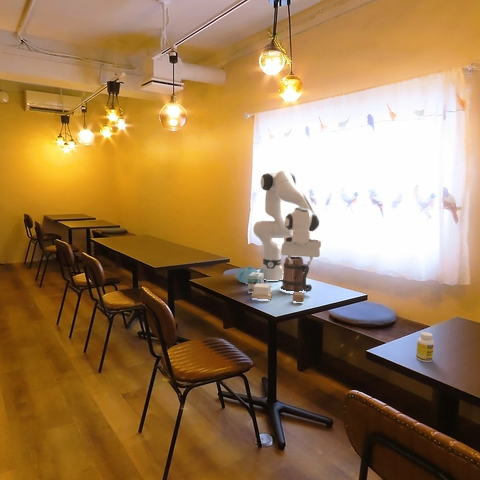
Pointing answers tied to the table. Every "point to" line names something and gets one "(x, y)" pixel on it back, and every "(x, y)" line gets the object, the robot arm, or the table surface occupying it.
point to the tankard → (295, 275)
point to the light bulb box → (255, 280)
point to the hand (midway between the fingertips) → (299, 264)
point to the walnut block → (298, 296)
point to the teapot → (246, 273)
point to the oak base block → (262, 296)
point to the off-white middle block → (262, 289)
